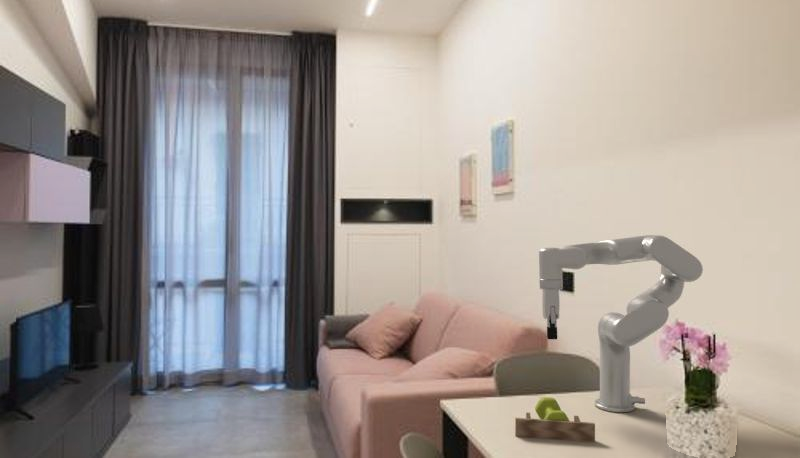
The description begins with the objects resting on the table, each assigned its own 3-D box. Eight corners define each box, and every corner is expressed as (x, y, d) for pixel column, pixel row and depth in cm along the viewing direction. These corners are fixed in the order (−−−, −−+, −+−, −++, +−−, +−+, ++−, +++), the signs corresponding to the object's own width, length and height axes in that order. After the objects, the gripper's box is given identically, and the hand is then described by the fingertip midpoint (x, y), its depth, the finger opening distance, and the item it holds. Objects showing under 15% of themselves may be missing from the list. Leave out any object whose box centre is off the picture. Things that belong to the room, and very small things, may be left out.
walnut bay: (589, 428, 173) (589, 411, 173) (594, 441, 162) (595, 424, 162) (515, 423, 177) (515, 406, 177) (515, 436, 166) (515, 418, 166)
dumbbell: (571, 438, 165) (572, 413, 165) (543, 437, 166) (543, 412, 165) (559, 419, 181) (559, 396, 181) (534, 418, 182) (534, 395, 182)
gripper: (538, 282, 201) (539, 334, 201) (541, 286, 186) (542, 343, 187) (560, 282, 200) (561, 334, 200) (565, 286, 185) (566, 343, 185)
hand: (552, 338), depth 193 cm, fingers closed
